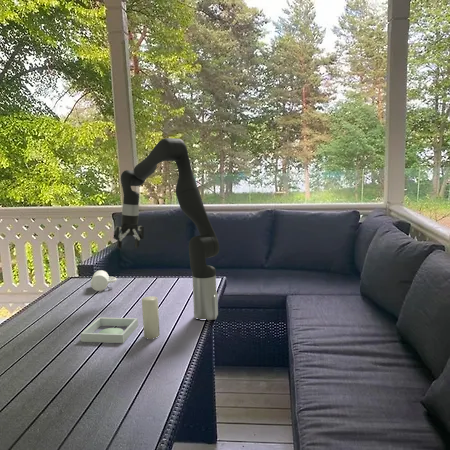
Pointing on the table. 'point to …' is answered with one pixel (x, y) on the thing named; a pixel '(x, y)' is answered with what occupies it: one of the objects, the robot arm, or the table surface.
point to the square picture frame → (109, 338)
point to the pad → (112, 331)
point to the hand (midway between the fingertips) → (128, 248)
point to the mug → (101, 280)
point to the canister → (150, 317)
